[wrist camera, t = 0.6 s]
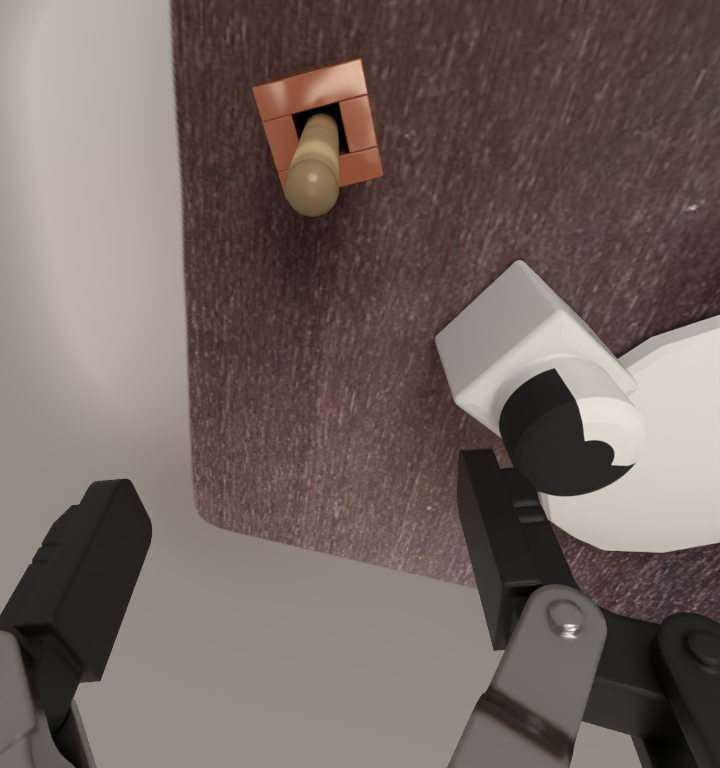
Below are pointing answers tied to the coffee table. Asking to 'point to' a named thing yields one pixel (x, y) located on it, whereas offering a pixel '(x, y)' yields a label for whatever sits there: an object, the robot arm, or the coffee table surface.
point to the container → (543, 385)
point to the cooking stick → (315, 164)
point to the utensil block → (315, 89)
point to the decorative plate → (661, 453)
